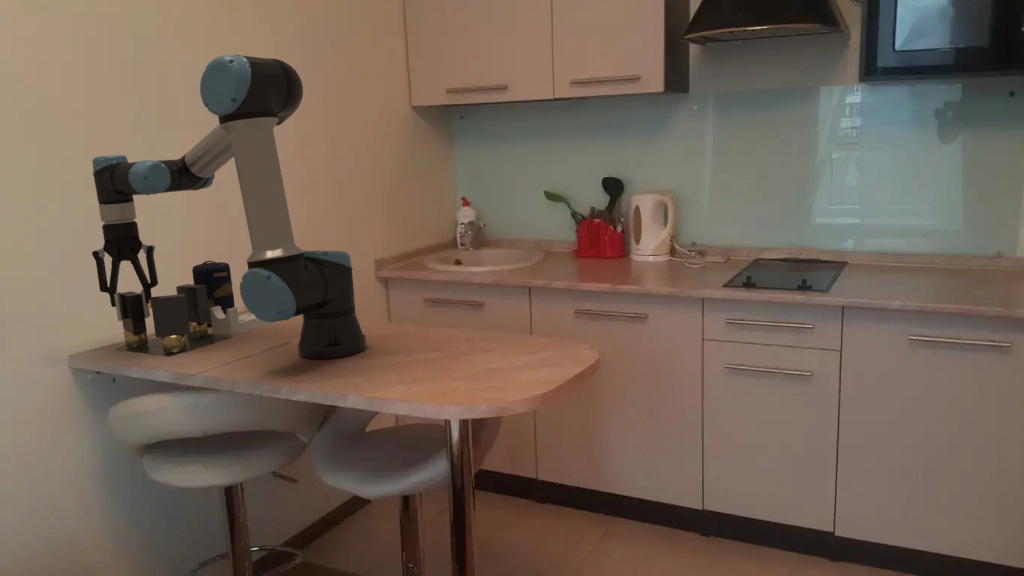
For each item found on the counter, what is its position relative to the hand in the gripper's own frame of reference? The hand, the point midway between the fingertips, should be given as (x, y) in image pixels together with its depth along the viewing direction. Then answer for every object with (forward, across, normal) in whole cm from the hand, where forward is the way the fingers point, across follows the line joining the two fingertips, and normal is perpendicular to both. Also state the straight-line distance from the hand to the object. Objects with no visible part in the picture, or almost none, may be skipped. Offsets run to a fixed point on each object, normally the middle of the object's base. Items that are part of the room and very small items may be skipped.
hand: (134, 318), depth 190 cm
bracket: (+9, -23, -10) cm, 27 cm away
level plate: (+8, -8, 0) cm, 12 cm away
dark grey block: (+7, -10, +9) cm, 15 cm away
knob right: (+7, -13, -5) cm, 15 cm away
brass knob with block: (+7, 0, -1) cm, 7 cm away
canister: (+8, -16, -20) cm, 27 cm away
